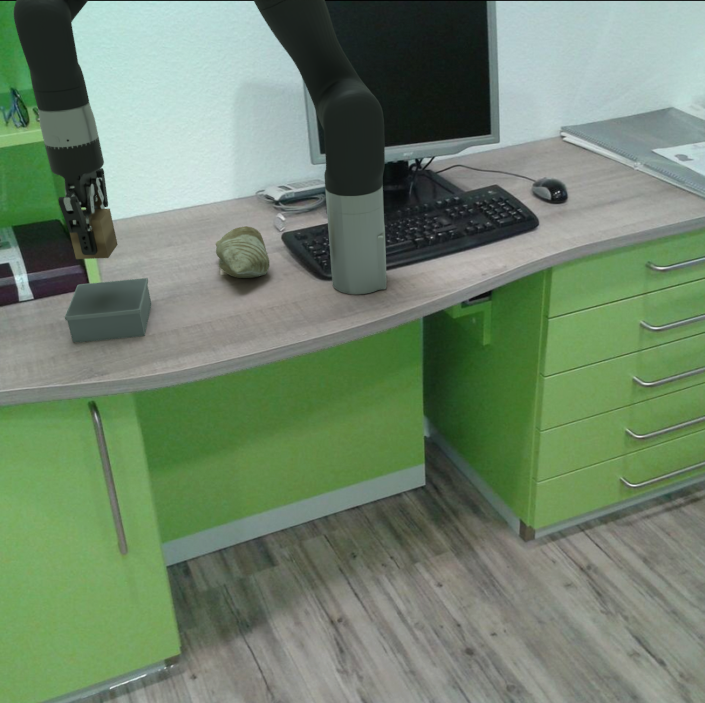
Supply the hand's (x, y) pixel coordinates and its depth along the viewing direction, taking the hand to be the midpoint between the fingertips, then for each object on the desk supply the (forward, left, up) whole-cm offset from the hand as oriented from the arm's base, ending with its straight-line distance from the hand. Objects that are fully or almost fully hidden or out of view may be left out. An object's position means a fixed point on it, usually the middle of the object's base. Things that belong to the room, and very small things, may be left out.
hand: (96, 245), depth 127 cm
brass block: (0, 0, -1) cm, 1 cm away
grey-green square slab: (0, 0, -14) cm, 14 cm away
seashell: (-19, -18, -14) cm, 29 cm away
